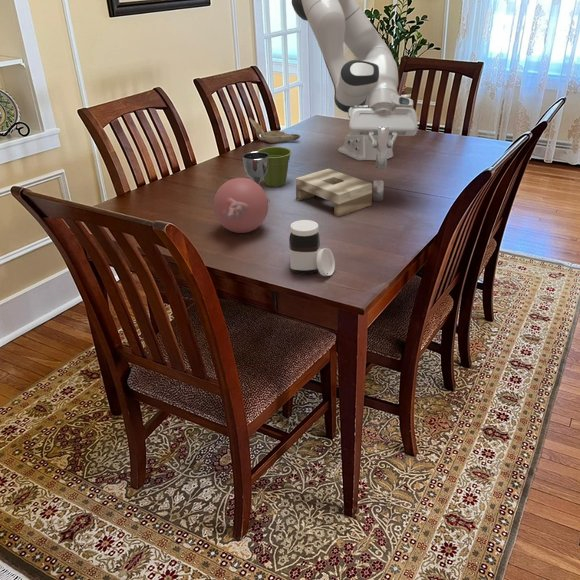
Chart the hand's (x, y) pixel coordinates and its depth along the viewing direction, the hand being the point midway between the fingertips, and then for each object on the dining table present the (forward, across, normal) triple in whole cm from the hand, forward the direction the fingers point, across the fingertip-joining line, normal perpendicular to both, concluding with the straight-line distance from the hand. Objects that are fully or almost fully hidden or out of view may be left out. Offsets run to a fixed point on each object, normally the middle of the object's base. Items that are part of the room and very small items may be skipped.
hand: (382, 147), depth 175 cm
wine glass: (+11, -38, +16) cm, 43 cm away
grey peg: (+4, 0, +5) cm, 6 cm away
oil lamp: (-37, -40, +64) cm, 84 cm away
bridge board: (+11, -14, +16) cm, 24 cm away
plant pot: (0, -34, +28) cm, 44 cm away
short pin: (+9, 0, +18) cm, 20 cm away
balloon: (+29, -40, -2) cm, 49 cm away
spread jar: (+44, -18, -16) cm, 50 cm away
